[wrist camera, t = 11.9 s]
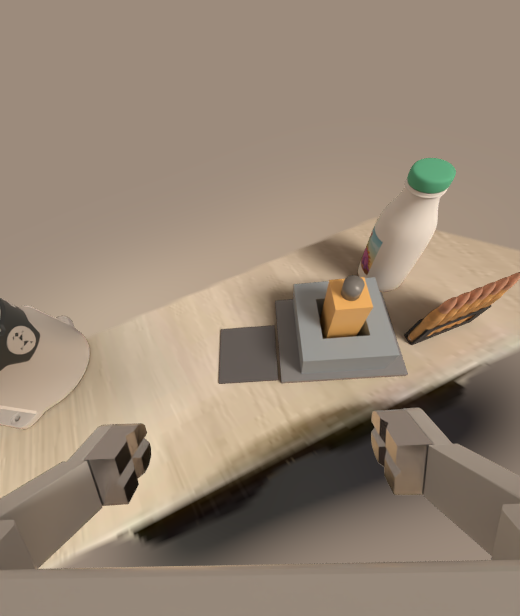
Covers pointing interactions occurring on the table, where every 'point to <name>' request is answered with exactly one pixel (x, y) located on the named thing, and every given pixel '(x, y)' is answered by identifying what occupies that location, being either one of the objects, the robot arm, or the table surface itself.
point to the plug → (345, 307)
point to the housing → (334, 340)
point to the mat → (248, 355)
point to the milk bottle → (406, 224)
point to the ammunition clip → (459, 310)
